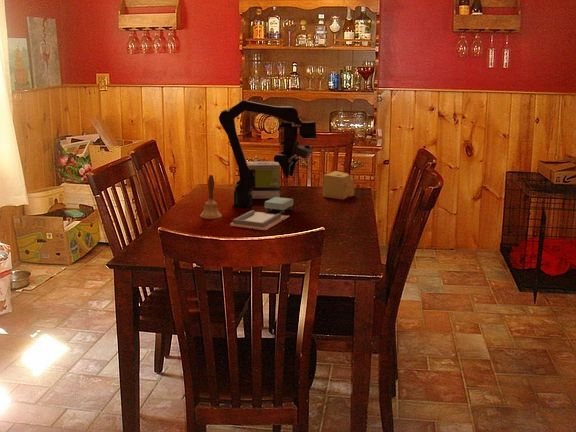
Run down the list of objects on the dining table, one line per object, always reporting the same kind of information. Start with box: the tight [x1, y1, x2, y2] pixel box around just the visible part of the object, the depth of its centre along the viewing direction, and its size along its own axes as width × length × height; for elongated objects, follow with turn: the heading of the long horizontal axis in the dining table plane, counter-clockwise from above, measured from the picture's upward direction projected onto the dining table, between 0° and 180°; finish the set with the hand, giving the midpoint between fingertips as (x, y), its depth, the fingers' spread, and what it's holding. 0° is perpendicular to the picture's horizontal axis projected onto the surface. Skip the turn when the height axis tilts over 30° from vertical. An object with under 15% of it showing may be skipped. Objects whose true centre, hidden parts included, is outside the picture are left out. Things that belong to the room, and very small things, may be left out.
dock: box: [229, 209, 290, 231], centre depth 259 cm, size 14×22×2 cm, turn 157°
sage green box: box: [264, 196, 294, 215], centre depth 274 cm, size 8×10×4 cm
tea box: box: [246, 161, 281, 200], centre depth 298 cm, size 15×10×15 cm, turn 92°
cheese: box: [322, 170, 355, 200], centre depth 302 cm, size 10×11×10 cm
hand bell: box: [199, 174, 223, 220], centre depth 263 cm, size 8×8×16 cm
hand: (289, 177), depth 281 cm, fingers open, 4 cm apart
